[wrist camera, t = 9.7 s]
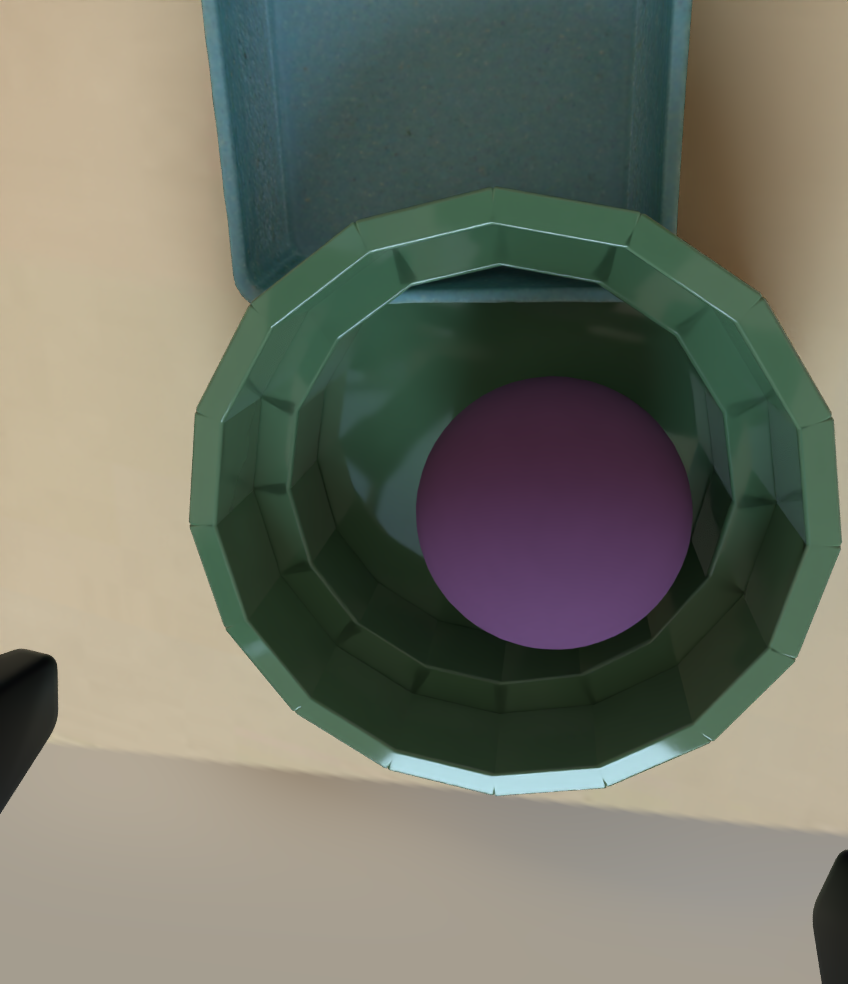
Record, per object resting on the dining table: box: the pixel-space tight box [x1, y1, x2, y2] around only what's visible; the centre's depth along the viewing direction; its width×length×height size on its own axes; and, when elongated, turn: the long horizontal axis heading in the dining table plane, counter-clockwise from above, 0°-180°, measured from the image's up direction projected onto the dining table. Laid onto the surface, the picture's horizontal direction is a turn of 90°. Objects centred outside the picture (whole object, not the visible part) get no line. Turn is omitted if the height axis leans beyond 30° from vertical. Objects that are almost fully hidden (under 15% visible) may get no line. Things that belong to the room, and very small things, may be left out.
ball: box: [416, 376, 693, 649], centre depth 16 cm, size 6×6×6 cm
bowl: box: [189, 186, 842, 796], centre depth 17 cm, size 12×12×5 cm
